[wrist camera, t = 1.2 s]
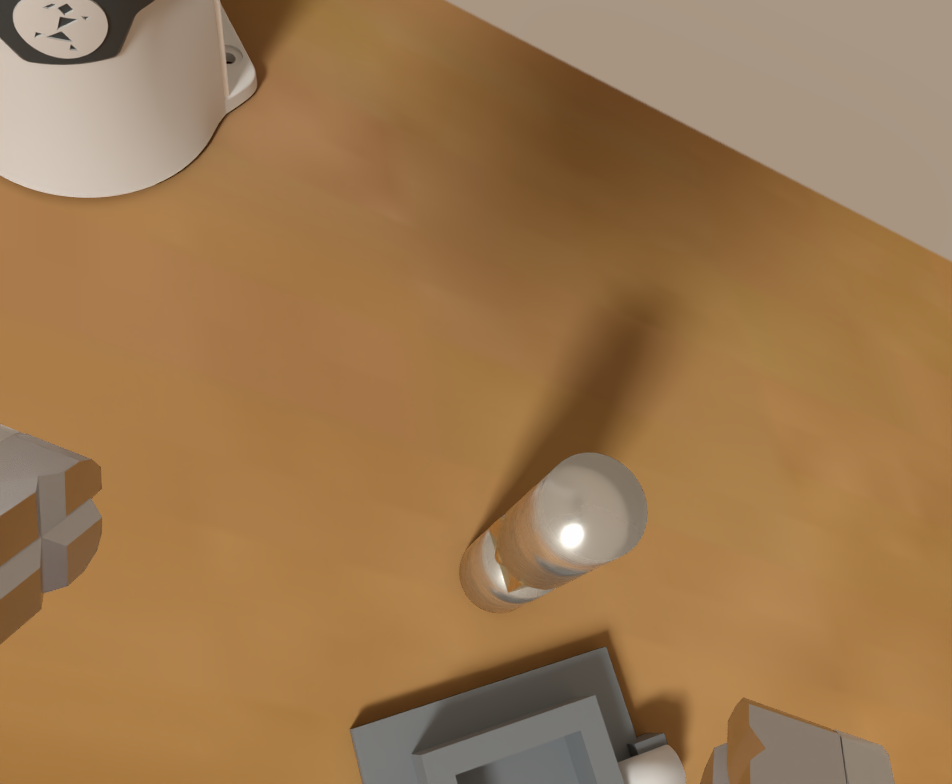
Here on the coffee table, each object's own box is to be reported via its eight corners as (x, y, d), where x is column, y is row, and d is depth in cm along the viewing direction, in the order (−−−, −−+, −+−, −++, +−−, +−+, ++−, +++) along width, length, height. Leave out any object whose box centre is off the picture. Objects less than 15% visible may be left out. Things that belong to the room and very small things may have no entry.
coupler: (450, 545, 43) (529, 465, 30) (521, 526, 44) (625, 442, 32) (472, 622, 42) (564, 573, 29) (544, 601, 43) (663, 544, 30)
